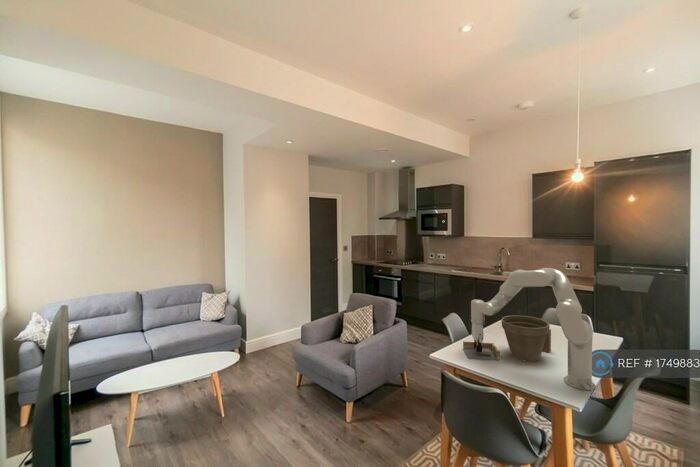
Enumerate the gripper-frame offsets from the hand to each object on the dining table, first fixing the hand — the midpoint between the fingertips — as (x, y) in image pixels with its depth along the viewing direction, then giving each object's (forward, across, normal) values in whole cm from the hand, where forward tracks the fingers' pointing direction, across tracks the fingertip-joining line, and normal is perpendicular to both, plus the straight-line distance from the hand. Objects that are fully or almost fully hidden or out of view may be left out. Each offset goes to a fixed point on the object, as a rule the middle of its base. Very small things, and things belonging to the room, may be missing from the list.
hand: (478, 349), depth 185 cm
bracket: (+2, 0, +3) cm, 4 cm away
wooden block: (+4, -15, +41) cm, 43 cm away
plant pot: (+4, -2, +27) cm, 27 cm away
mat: (+3, -1, +2) cm, 4 cm away
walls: (+3, -1, +2) cm, 4 cm away
